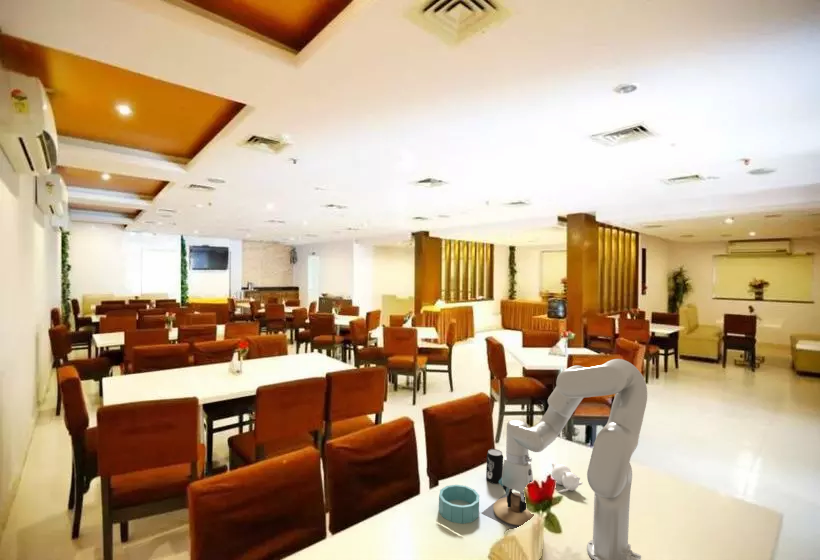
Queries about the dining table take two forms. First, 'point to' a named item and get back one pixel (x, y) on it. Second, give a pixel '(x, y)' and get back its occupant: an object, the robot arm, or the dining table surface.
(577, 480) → the cat figurine
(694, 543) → the dining table surface
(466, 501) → the bowl
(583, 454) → the dining table surface
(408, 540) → the dining table surface
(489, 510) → the mat
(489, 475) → the beverage can
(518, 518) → the lid
